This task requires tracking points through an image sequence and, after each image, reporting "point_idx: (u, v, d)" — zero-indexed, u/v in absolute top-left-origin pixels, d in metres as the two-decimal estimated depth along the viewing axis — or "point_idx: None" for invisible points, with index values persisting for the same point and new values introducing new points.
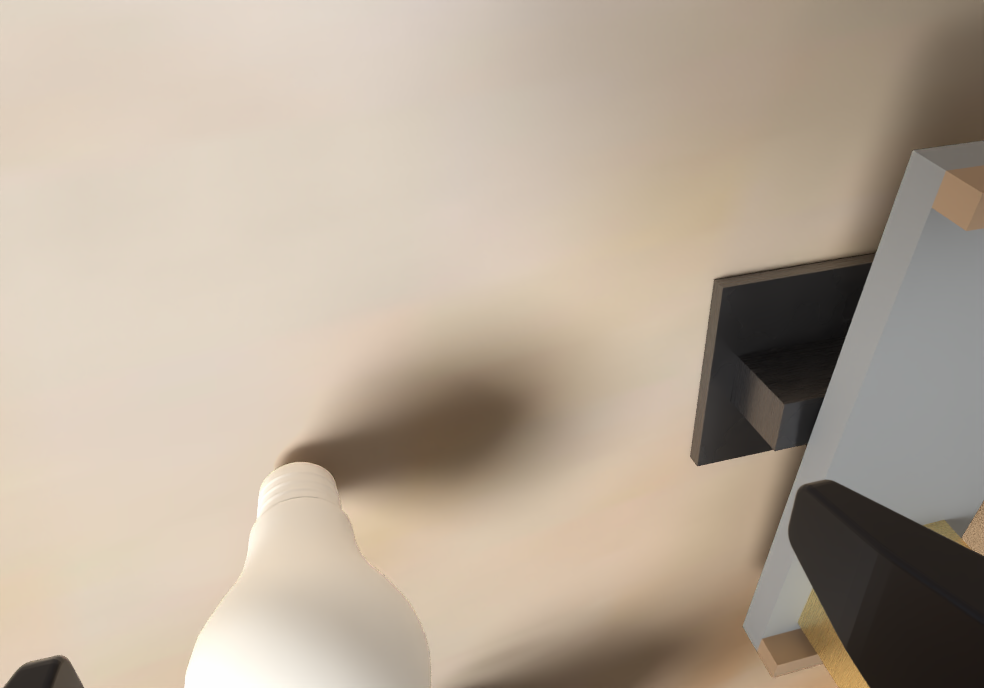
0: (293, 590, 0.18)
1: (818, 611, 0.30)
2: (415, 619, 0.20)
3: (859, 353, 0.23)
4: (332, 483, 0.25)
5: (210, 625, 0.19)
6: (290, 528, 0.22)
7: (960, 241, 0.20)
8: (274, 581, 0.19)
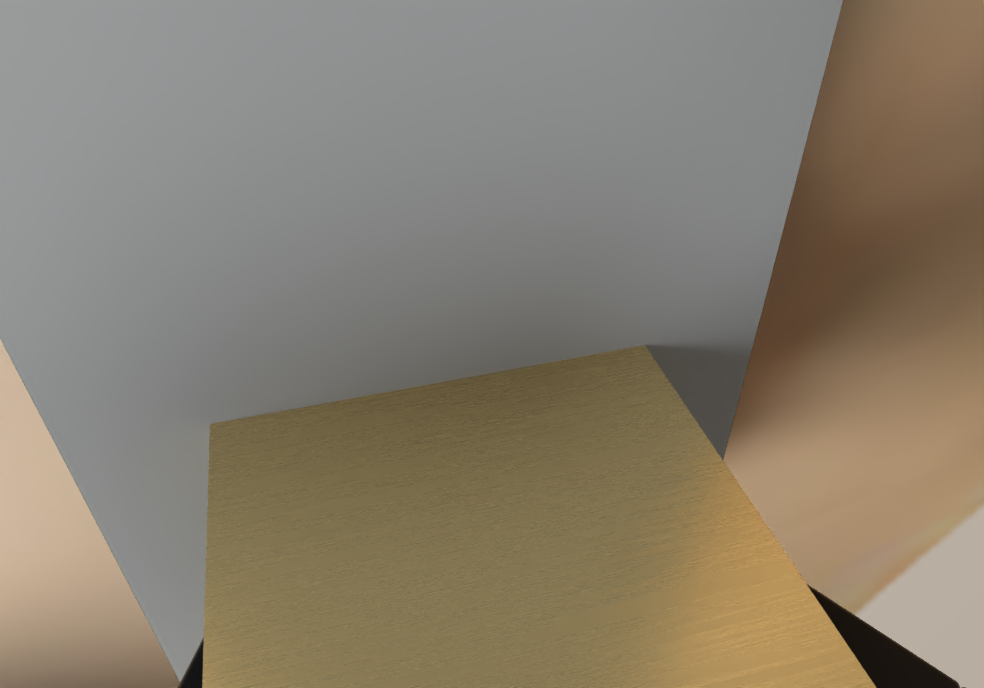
0: None
1: None
2: None
3: None
4: None
5: None
6: None
7: None
8: None
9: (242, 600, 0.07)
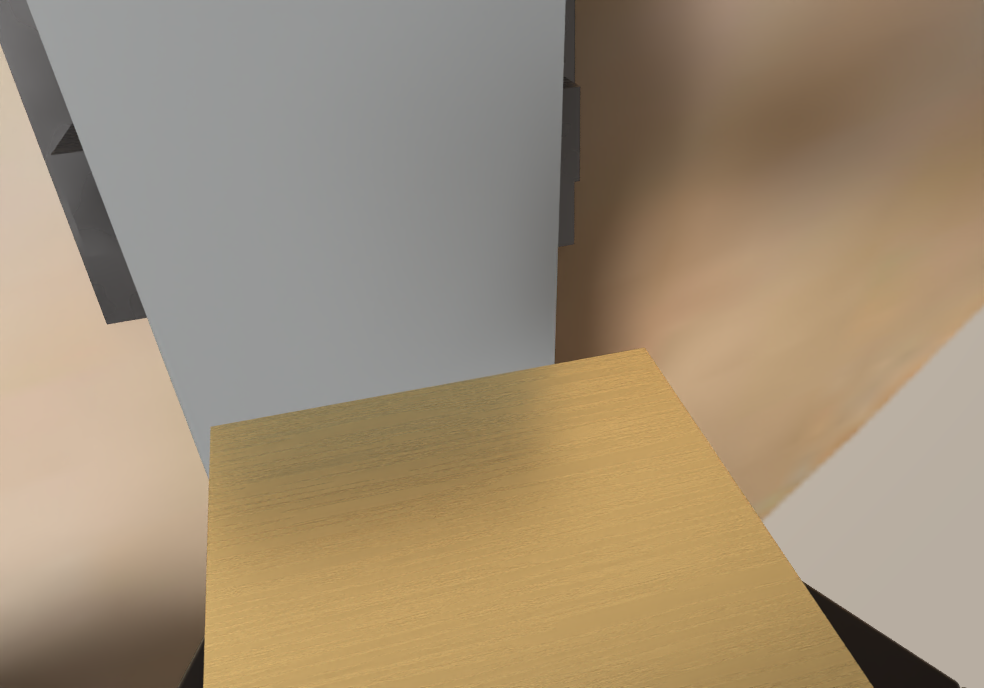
0: None
1: None
2: None
3: None
4: None
5: None
6: None
7: None
8: None
9: (243, 603, 0.07)
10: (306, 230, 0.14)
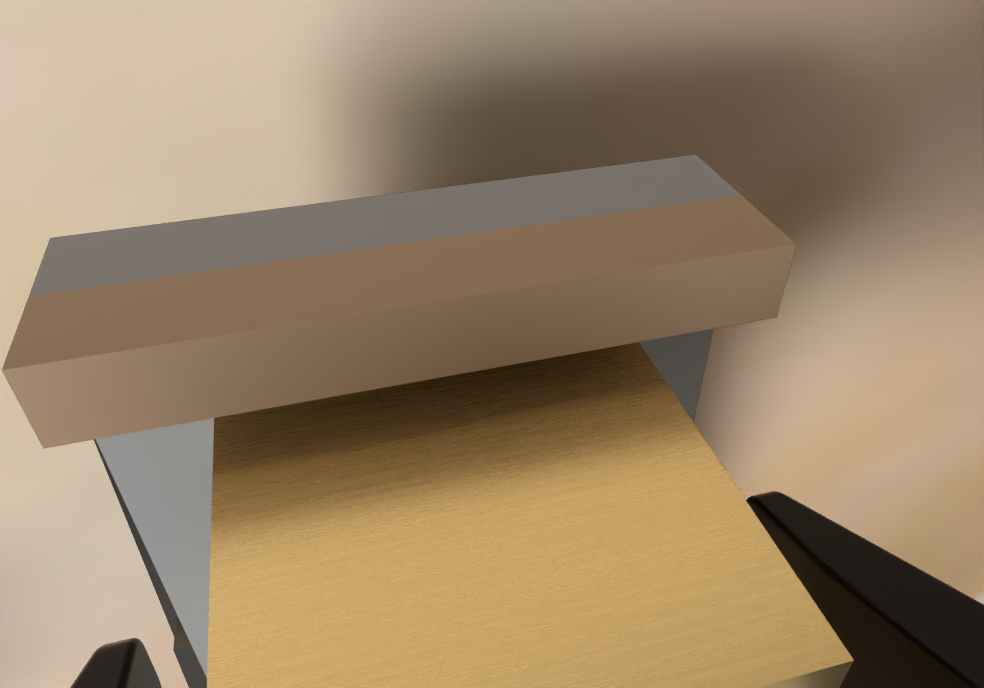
0: None
1: None
2: None
3: None
4: None
5: None
6: None
7: None
8: None
9: (244, 522, 0.07)
10: None
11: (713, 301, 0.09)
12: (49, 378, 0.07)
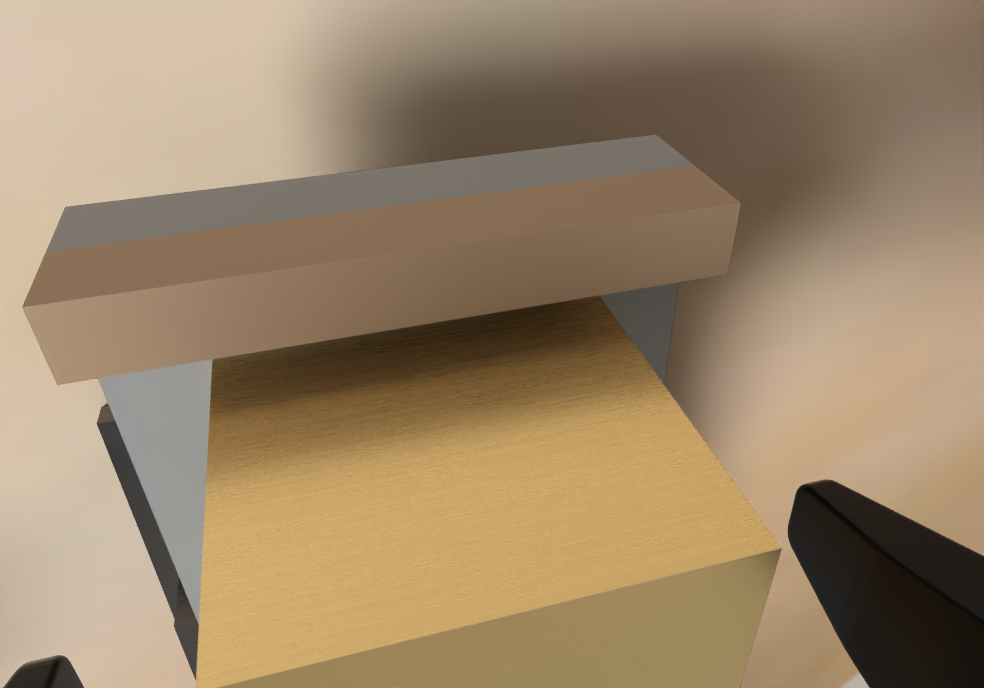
0: None
1: None
2: None
3: None
4: None
5: None
6: None
7: None
8: None
9: (238, 447, 0.08)
10: None
11: (667, 257, 0.09)
12: (64, 316, 0.08)
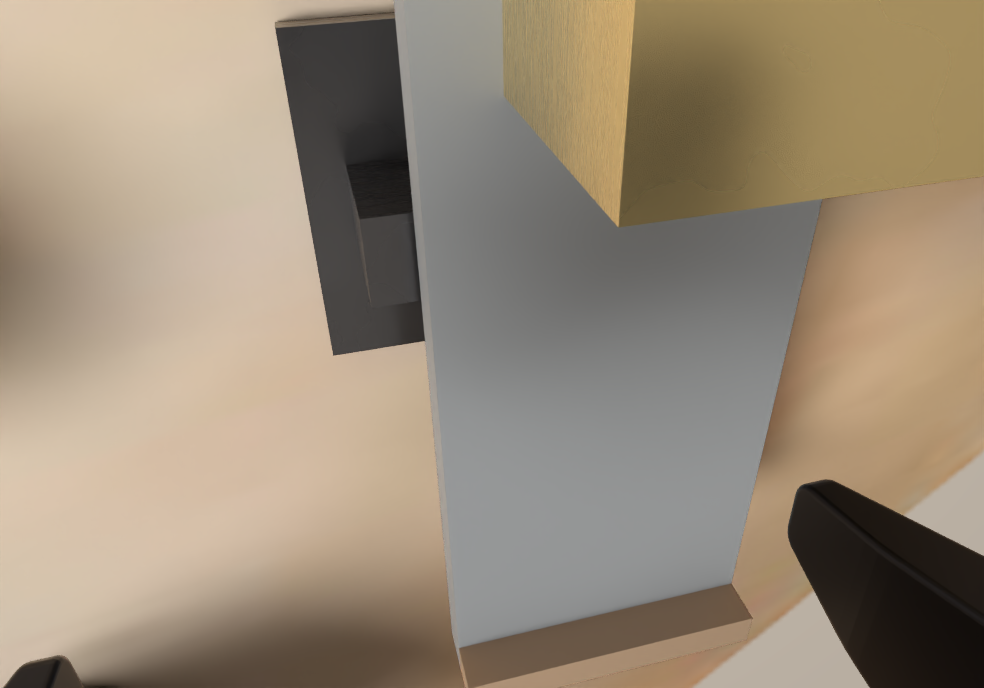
0: None
1: None
2: None
3: (406, 78, 0.12)
4: None
5: None
6: None
7: None
8: None
9: None
10: (587, 290, 0.15)
11: None
12: None
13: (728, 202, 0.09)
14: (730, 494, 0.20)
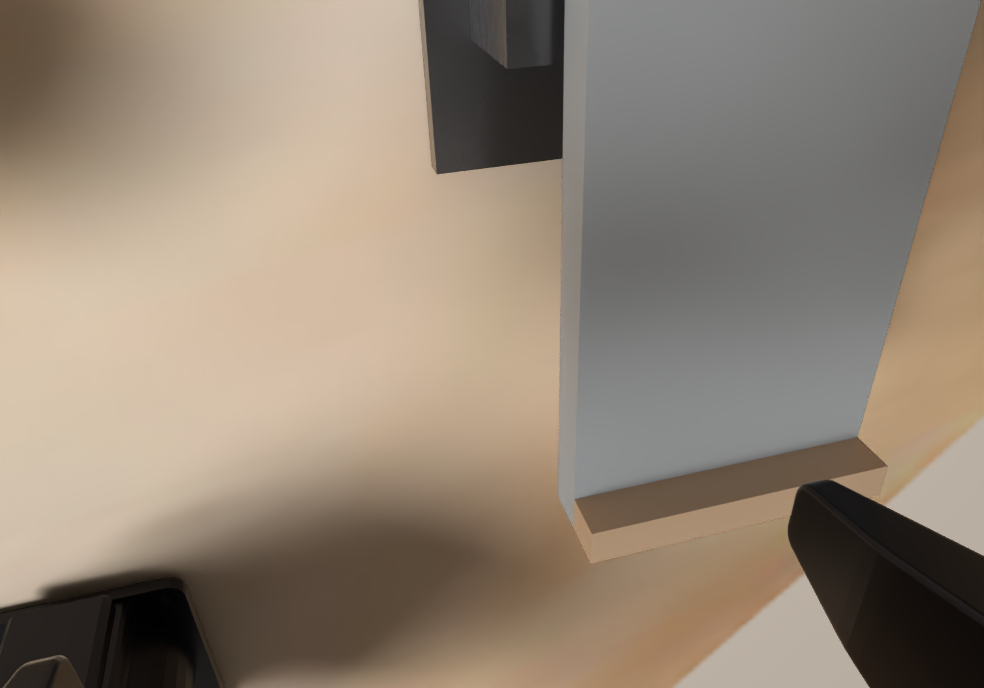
0: None
1: None
2: None
3: None
4: None
5: None
6: None
7: None
8: None
9: None
10: (750, 31, 0.14)
11: None
12: None
13: None
14: (869, 319, 0.18)
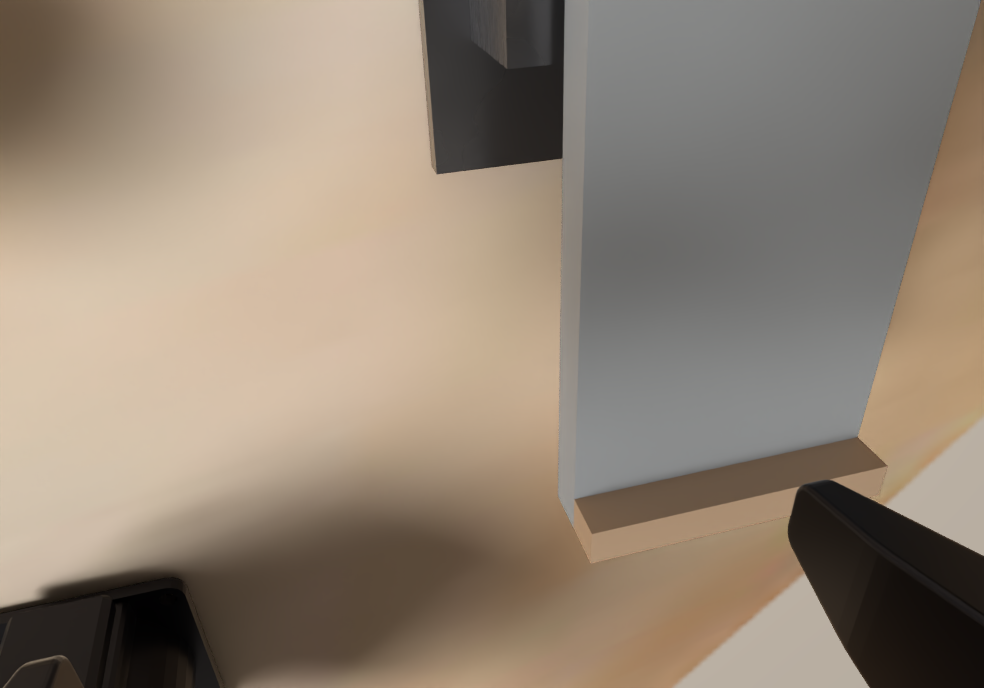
0: None
1: None
2: None
3: None
4: None
5: None
6: None
7: None
8: None
9: None
10: (750, 31, 0.14)
11: None
12: None
13: None
14: (869, 319, 0.18)
